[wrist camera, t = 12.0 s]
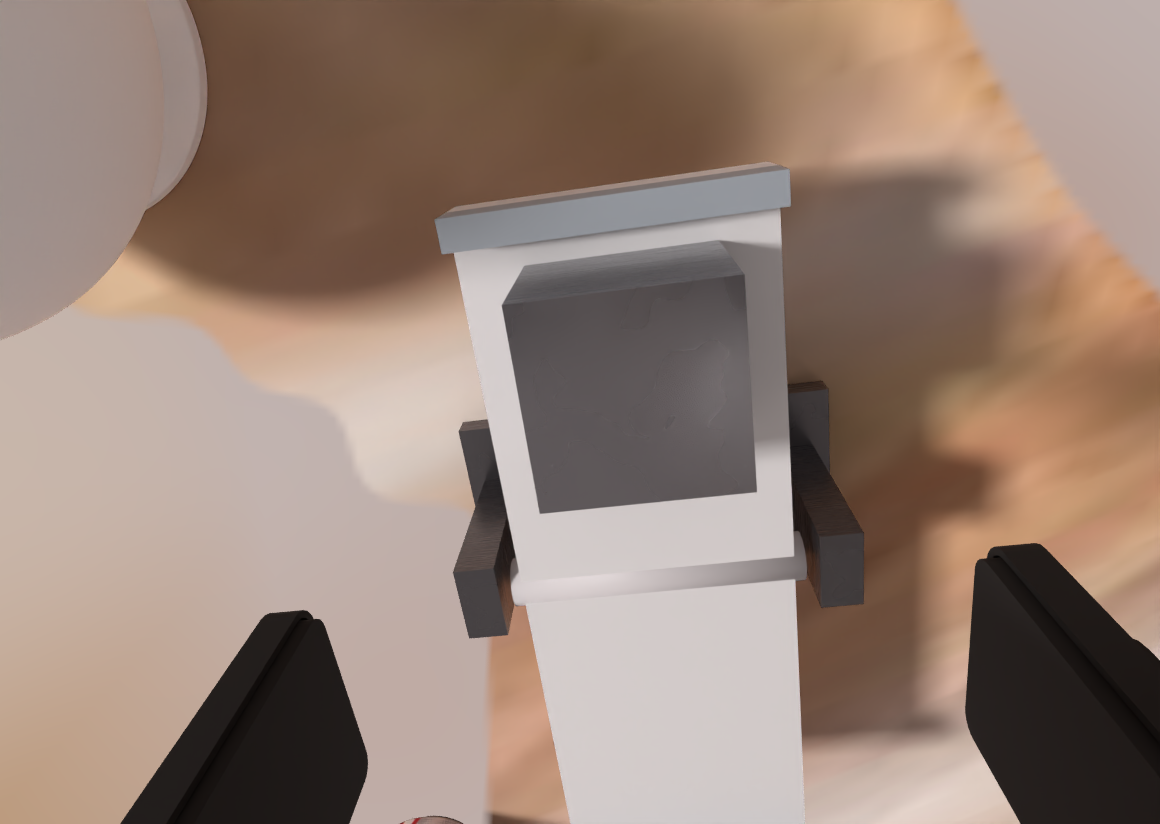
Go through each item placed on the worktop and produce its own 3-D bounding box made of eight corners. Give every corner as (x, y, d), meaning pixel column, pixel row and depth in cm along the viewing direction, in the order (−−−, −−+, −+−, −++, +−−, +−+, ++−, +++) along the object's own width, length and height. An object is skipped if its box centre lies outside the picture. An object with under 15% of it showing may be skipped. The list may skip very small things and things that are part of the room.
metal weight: (718, 239, 23) (744, 274, 18) (730, 420, 25) (757, 492, 20) (524, 265, 23) (501, 304, 19) (553, 439, 25) (539, 514, 21)
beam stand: (822, 380, 32) (885, 466, 25) (825, 538, 35) (882, 657, 28) (462, 422, 34) (419, 514, 26) (495, 569, 37) (464, 690, 29)
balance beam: (781, 159, 23) (804, 166, 20) (806, 806, 34) (824, 872, 31) (444, 207, 24) (421, 221, 21) (569, 821, 35) (565, 886, 32)
